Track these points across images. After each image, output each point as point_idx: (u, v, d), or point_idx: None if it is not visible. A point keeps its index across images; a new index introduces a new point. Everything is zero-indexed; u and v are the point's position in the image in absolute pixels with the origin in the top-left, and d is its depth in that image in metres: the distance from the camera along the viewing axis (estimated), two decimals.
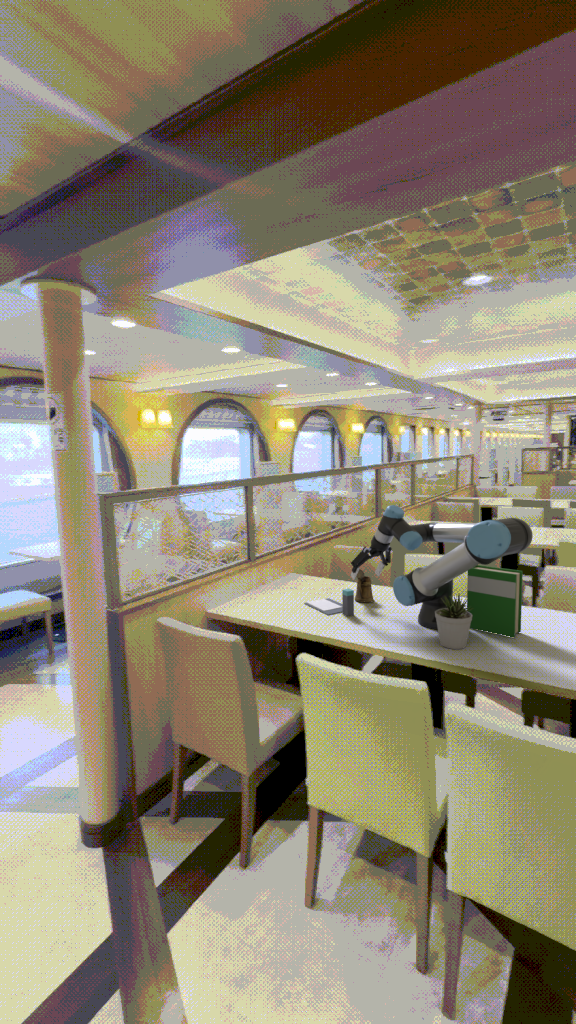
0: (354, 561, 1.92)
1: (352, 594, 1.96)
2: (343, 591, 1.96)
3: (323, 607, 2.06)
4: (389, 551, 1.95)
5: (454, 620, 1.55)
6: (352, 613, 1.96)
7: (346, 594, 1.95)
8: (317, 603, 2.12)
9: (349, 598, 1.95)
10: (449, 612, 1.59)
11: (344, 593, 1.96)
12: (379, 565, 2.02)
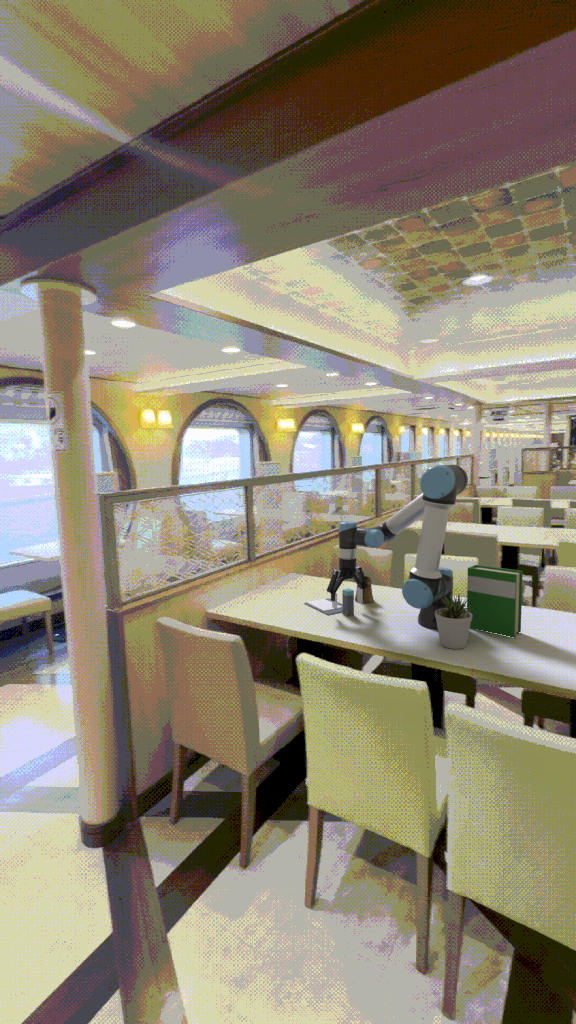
0: (329, 587, 1.92)
1: (352, 594, 1.95)
2: (343, 591, 1.96)
3: (323, 607, 2.06)
4: (360, 571, 1.98)
5: (454, 620, 1.55)
6: (352, 613, 1.96)
7: (346, 594, 1.95)
8: (317, 603, 2.12)
9: (349, 598, 1.95)
10: (449, 612, 1.59)
11: (344, 593, 1.96)
12: (358, 592, 2.00)
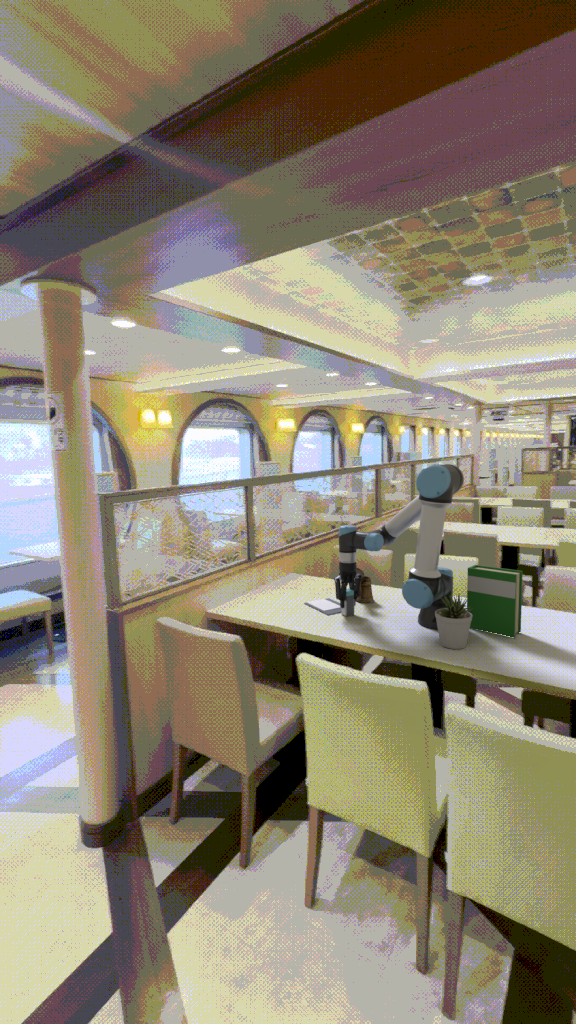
0: (337, 595, 1.94)
1: (352, 594, 1.96)
2: None
3: (323, 607, 2.06)
4: (359, 578, 1.98)
5: (454, 620, 1.55)
6: (352, 613, 1.96)
7: (346, 594, 1.95)
8: (317, 603, 2.12)
9: (349, 598, 1.95)
10: (449, 612, 1.59)
11: None
12: None
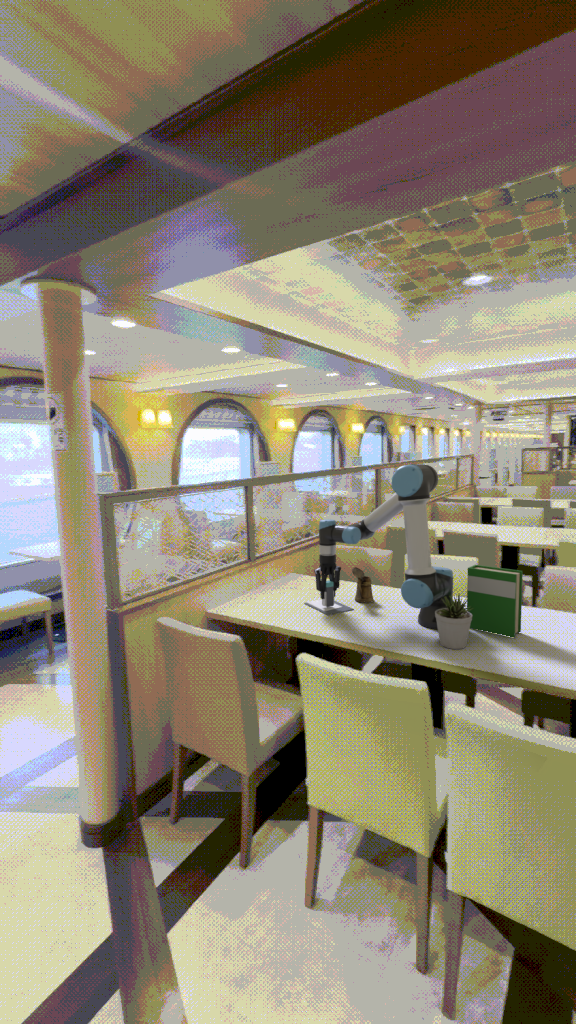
0: (317, 586, 2.02)
1: (332, 585, 2.03)
2: None
3: (323, 607, 2.06)
4: (339, 571, 2.05)
5: (454, 620, 1.55)
6: (332, 604, 2.04)
7: (326, 585, 2.03)
8: (317, 603, 2.12)
9: (329, 589, 2.03)
10: (449, 612, 1.59)
11: None
12: None
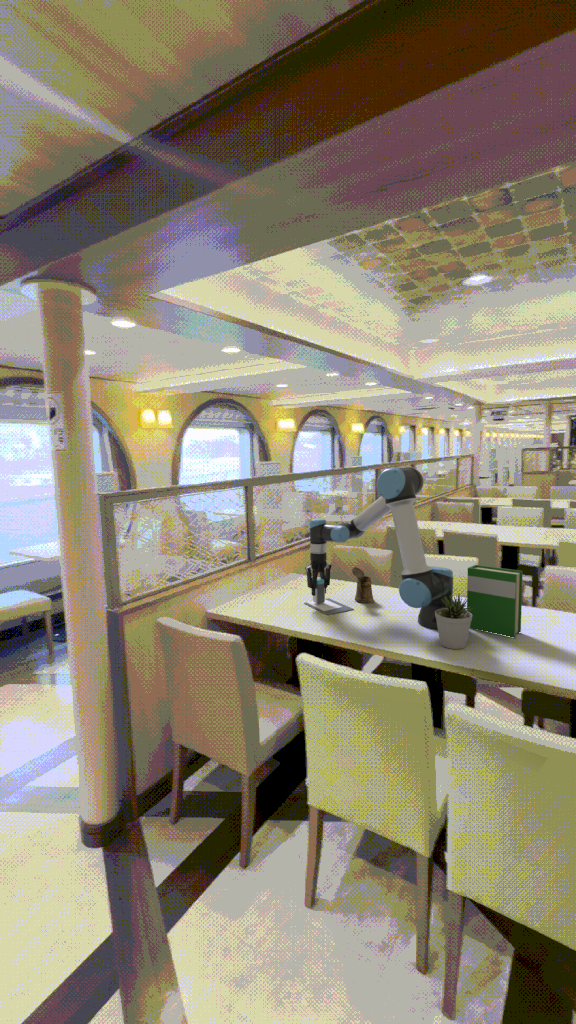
0: (308, 583, 2.09)
1: (322, 583, 2.10)
2: None
3: (323, 607, 2.06)
4: (329, 568, 2.12)
5: (454, 620, 1.55)
6: (322, 600, 2.11)
7: (317, 583, 2.09)
8: (317, 603, 2.12)
9: (319, 586, 2.09)
10: (449, 612, 1.59)
11: None
12: None
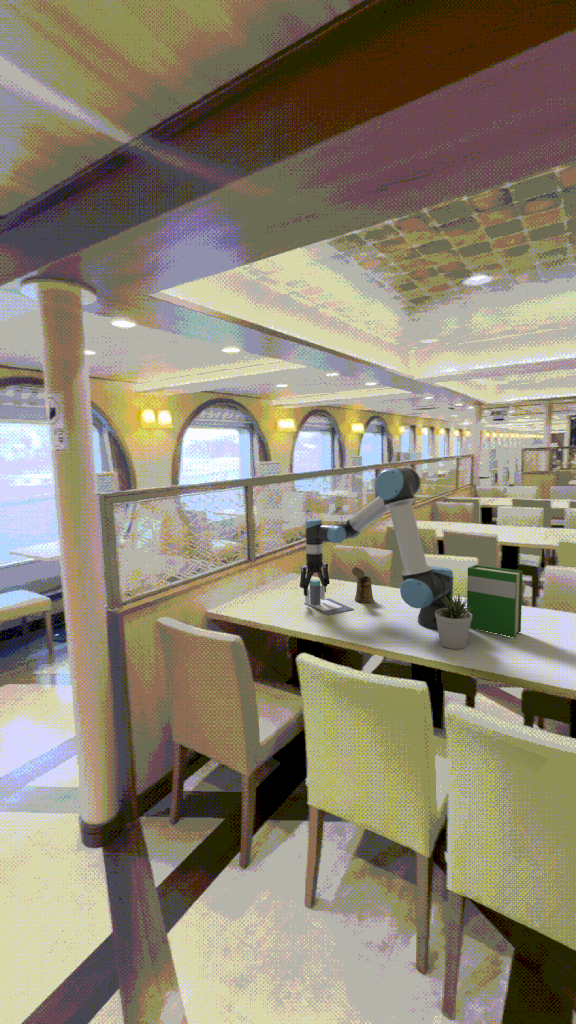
0: (301, 583, 2.07)
1: (318, 585, 2.09)
2: (310, 582, 2.10)
3: (323, 607, 2.06)
4: (326, 567, 2.12)
5: (454, 620, 1.55)
6: (319, 602, 2.10)
7: (313, 584, 2.09)
8: None
9: (316, 588, 2.09)
10: (449, 612, 1.59)
11: (311, 583, 2.10)
12: (321, 589, 2.13)
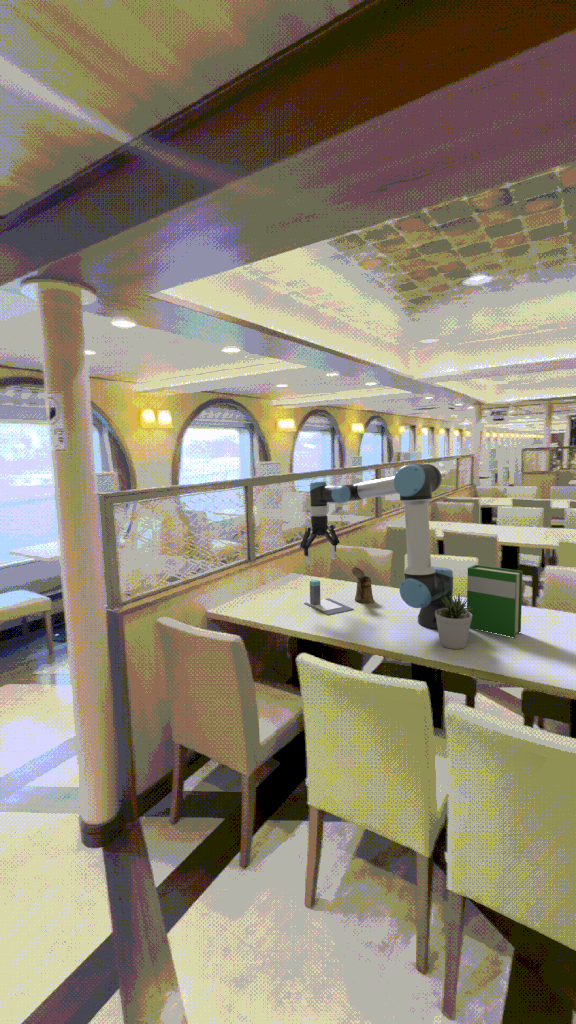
0: (302, 543, 2.03)
1: (318, 585, 2.09)
2: (310, 582, 2.10)
3: (323, 607, 2.06)
4: (332, 528, 2.09)
5: (454, 620, 1.55)
6: (319, 602, 2.10)
7: (313, 584, 2.09)
8: None
9: (316, 588, 2.09)
10: (449, 612, 1.59)
11: (311, 583, 2.10)
12: (331, 549, 2.12)
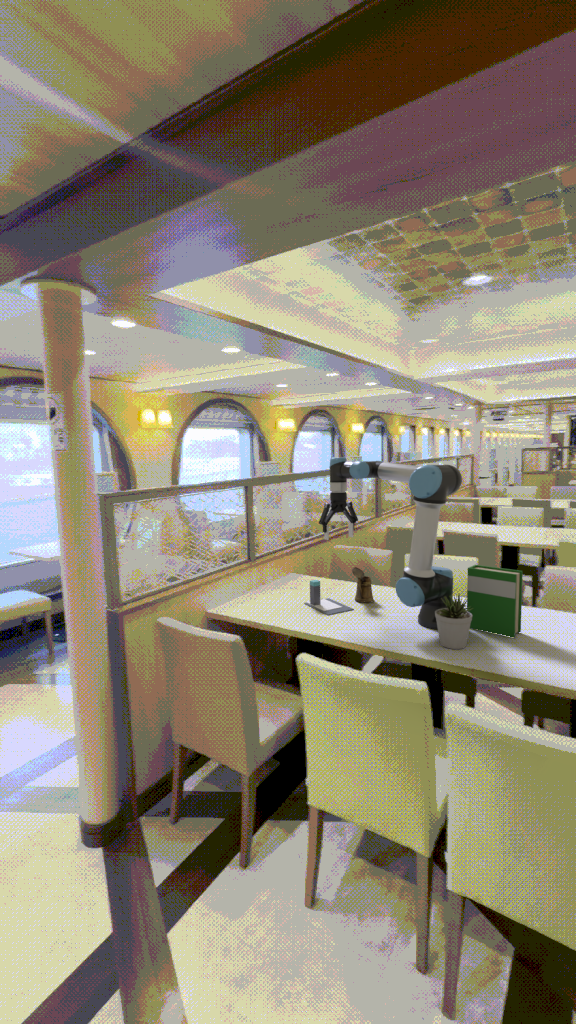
0: (321, 519, 2.01)
1: (318, 585, 2.09)
2: (310, 582, 2.10)
3: (323, 607, 2.06)
4: (351, 506, 2.07)
5: (454, 620, 1.55)
6: (319, 602, 2.10)
7: (313, 584, 2.09)
8: None
9: (316, 588, 2.09)
10: (449, 612, 1.59)
11: (311, 583, 2.10)
12: (349, 526, 2.10)
